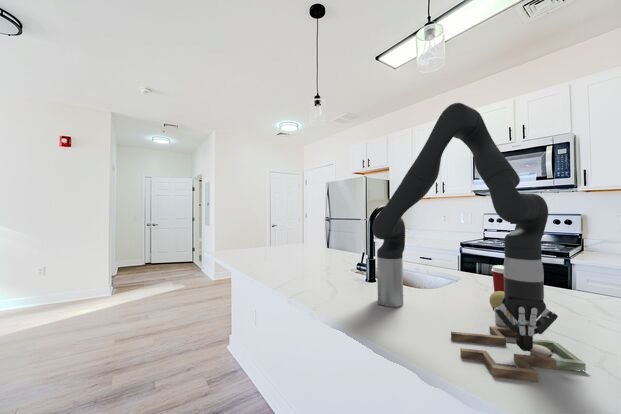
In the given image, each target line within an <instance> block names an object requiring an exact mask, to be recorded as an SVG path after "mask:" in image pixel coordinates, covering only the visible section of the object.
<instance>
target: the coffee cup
mask: <svg viewBox="0 0 621 414" xmlns="http://www.w3.org/2000/svg"><path fill="white" fill-rule="evenodd" d="M491 268H492V269H491V272H492V281H493V293H494V292H496V291H503V292H504V274H503V270H504V264H502V265H501V264H500V265H499V264H497V265H492V267H491Z"/></svg>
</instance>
